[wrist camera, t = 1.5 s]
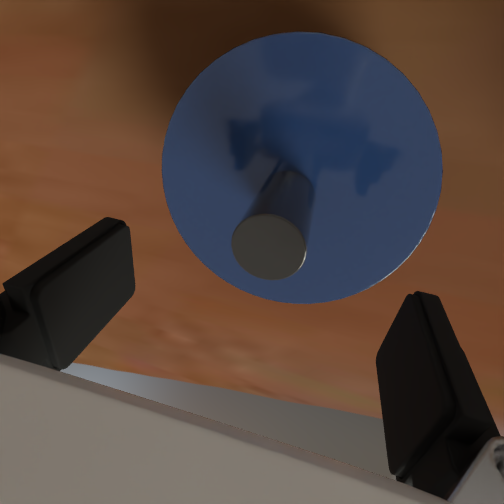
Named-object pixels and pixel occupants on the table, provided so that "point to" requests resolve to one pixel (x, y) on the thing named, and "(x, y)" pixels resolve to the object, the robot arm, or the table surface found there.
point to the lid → (302, 167)
